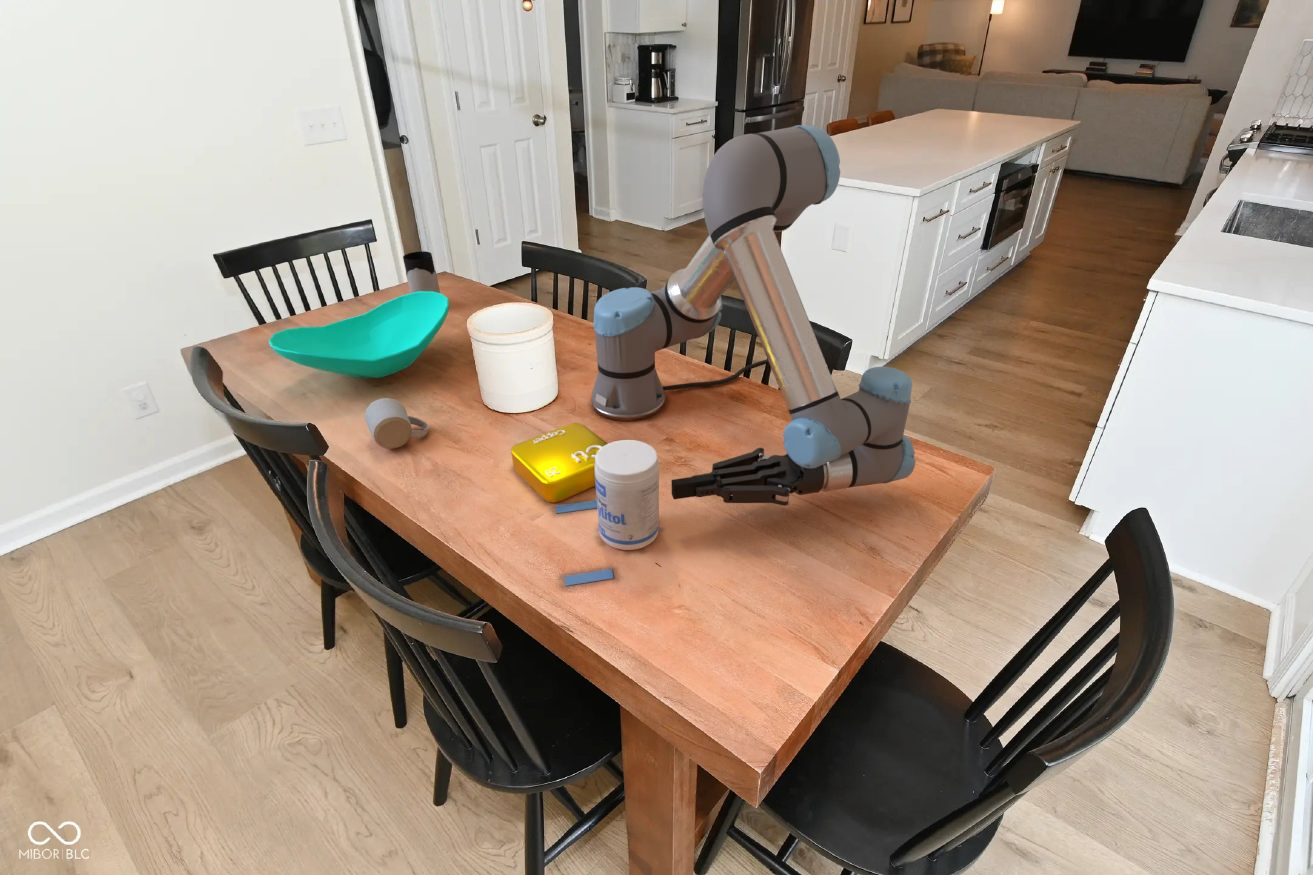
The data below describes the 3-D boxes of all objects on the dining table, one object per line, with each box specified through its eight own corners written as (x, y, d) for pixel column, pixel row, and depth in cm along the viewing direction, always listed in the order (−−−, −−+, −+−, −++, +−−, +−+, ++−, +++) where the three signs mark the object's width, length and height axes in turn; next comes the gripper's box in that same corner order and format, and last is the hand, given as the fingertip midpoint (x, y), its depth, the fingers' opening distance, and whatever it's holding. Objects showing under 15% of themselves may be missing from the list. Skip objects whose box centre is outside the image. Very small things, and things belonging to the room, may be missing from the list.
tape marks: (597, 500, 115) (597, 500, 115) (613, 578, 99) (613, 577, 99) (555, 506, 114) (555, 505, 114) (565, 586, 98) (565, 585, 98)
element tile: (580, 438, 132) (578, 417, 129) (624, 474, 121) (622, 451, 119) (510, 466, 124) (506, 444, 122) (550, 506, 114) (547, 483, 111)
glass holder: (409, 315, 187) (396, 261, 179) (420, 296, 199) (409, 245, 191) (441, 313, 188) (430, 259, 180) (450, 295, 200) (440, 244, 192)
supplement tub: (587, 541, 106) (580, 464, 98) (618, 507, 113) (613, 432, 105) (642, 560, 102) (638, 481, 94) (670, 523, 109) (669, 447, 101)
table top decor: (316, 424, 139) (296, 366, 131) (268, 381, 155) (248, 327, 148) (483, 361, 162) (474, 308, 155) (426, 329, 179) (415, 280, 171)
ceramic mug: (378, 456, 128) (368, 421, 124) (369, 436, 134) (360, 402, 130) (434, 440, 133) (427, 406, 128) (423, 422, 139) (416, 388, 134)
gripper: (803, 427, 112) (663, 446, 108) (836, 472, 101) (682, 495, 97) (799, 465, 116) (664, 484, 112) (831, 512, 105) (682, 535, 101)
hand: (672, 489), depth 105 cm, fingers closed
